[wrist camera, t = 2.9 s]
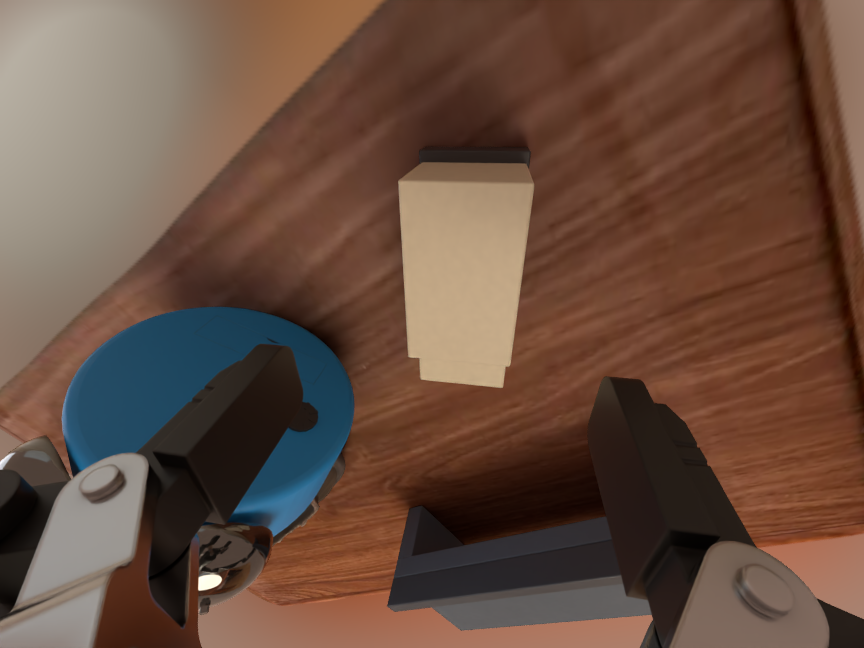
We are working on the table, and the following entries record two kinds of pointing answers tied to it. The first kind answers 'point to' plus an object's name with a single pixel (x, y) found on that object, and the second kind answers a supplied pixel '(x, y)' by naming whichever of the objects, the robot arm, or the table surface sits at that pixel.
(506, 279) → the tan stepped block
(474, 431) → the table surface
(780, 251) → the table surface
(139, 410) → the alarm clock
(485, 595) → the grey stand
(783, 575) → the robot arm
